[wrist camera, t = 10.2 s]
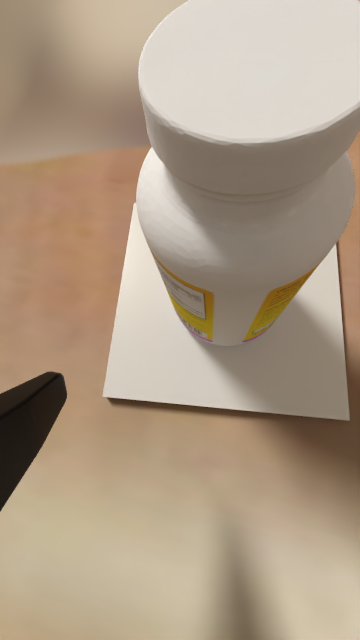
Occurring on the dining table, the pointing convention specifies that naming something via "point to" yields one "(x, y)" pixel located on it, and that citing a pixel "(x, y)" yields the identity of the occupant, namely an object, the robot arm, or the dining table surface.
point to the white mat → (228, 348)
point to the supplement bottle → (247, 154)
